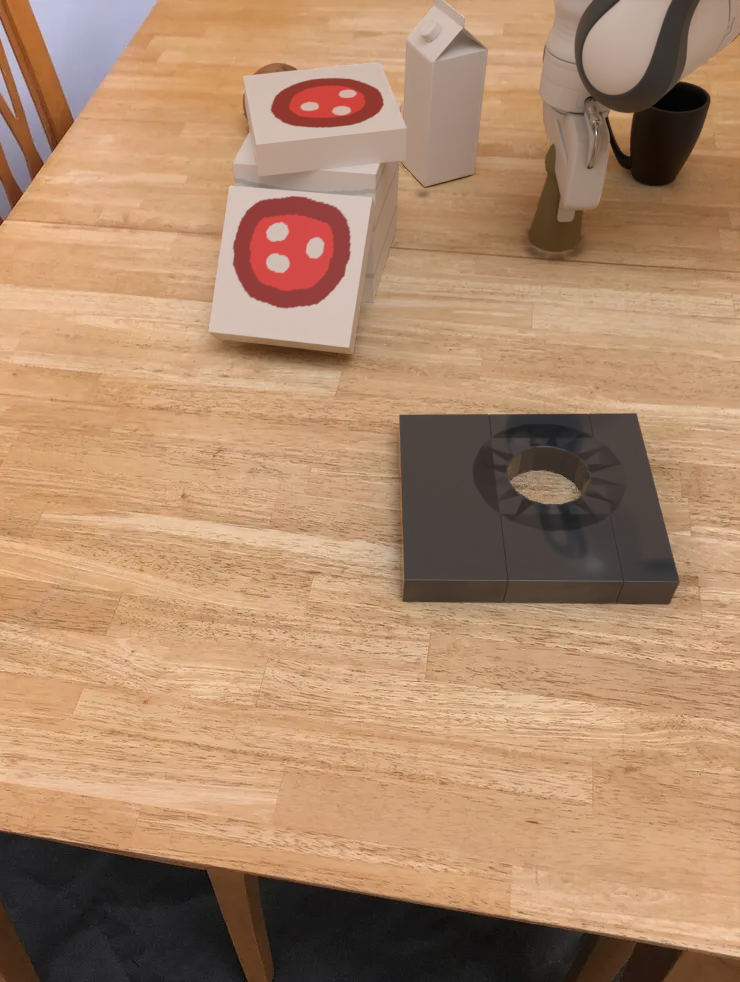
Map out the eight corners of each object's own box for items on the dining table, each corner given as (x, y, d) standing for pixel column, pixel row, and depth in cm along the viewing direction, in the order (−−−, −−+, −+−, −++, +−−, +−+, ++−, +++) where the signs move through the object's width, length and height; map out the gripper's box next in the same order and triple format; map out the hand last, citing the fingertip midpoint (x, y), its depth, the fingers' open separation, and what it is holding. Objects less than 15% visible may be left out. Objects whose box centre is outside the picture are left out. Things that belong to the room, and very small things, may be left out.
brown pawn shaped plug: (557, 257, 106) (575, 164, 98) (517, 236, 109) (532, 144, 101) (591, 237, 108) (612, 144, 100) (551, 216, 111) (568, 124, 103)
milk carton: (449, 150, 122) (463, -12, 107) (474, 175, 118) (492, 10, 103) (400, 162, 121) (407, 0, 106) (424, 188, 117) (435, 23, 102)
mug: (595, 149, 120) (612, 72, 113) (691, 162, 117) (715, 84, 109) (583, 182, 116) (599, 103, 108) (682, 196, 113) (706, 117, 105)
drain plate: (629, 436, 88) (636, 412, 86) (669, 604, 76) (680, 582, 74) (398, 437, 90) (399, 414, 88) (402, 602, 78) (404, 580, 76)
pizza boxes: (195, 359, 99) (169, 200, 84) (267, 208, 116) (255, 54, 101) (372, 380, 95) (375, 218, 81) (419, 221, 112) (428, 63, 98)
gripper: (634, 125, 88) (602, 255, 99) (601, 33, 100) (576, 158, 111) (566, 127, 89) (542, 256, 100) (542, 35, 101) (523, 159, 112)
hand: (560, 204), depth 106 cm, fingers closed on brown pawn shaped plug, 4 cm apart
